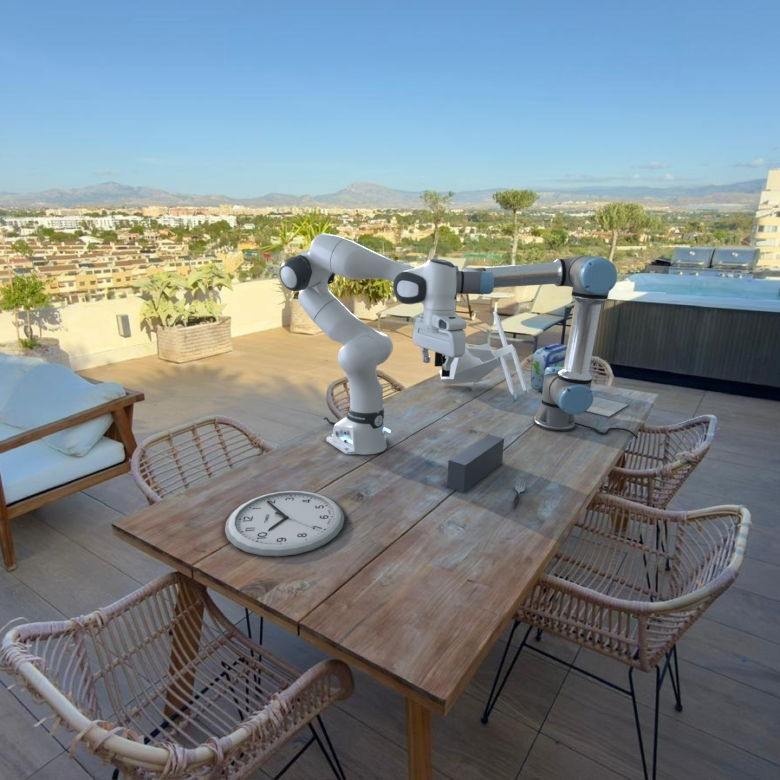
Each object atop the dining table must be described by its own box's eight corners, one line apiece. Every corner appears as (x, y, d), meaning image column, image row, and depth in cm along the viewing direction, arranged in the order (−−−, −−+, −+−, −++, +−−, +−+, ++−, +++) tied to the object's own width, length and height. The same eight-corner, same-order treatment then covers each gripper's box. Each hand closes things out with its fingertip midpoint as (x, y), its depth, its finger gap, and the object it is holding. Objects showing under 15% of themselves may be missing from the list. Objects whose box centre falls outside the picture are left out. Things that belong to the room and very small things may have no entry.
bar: (486, 458, 174) (488, 434, 171) (502, 462, 170) (504, 438, 168) (447, 486, 154) (448, 459, 152) (463, 492, 151) (465, 465, 148)
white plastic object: (461, 429, 252) (437, 405, 227) (444, 352, 274) (420, 323, 250) (535, 404, 240) (518, 377, 215) (510, 326, 262) (492, 293, 237)
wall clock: (344, 547, 121) (211, 552, 118) (344, 554, 121) (212, 558, 119) (344, 486, 149) (237, 489, 147) (344, 491, 150) (237, 494, 147)
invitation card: (608, 416, 214) (573, 407, 224) (608, 416, 214) (573, 408, 224) (628, 404, 229) (594, 396, 238) (628, 405, 229) (594, 397, 238)
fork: (509, 509, 142) (509, 503, 141) (516, 484, 156) (517, 477, 156) (519, 511, 141) (519, 504, 140) (525, 485, 155) (526, 479, 155)
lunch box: (547, 395, 239) (552, 351, 233) (526, 390, 247) (530, 347, 240) (574, 384, 257) (579, 343, 251) (554, 380, 264) (558, 339, 258)
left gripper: (408, 313, 154) (406, 359, 158) (452, 325, 138) (449, 375, 142) (425, 312, 157) (423, 357, 161) (470, 323, 141) (467, 373, 145)
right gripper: (427, 305, 190) (425, 362, 196) (440, 317, 166) (437, 381, 172) (448, 305, 190) (445, 362, 197) (463, 317, 167) (460, 381, 173)
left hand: (436, 366), depth 151 cm, fingers open, 8 cm apart
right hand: (441, 371), depth 185 cm, fingers open, 13 cm apart
